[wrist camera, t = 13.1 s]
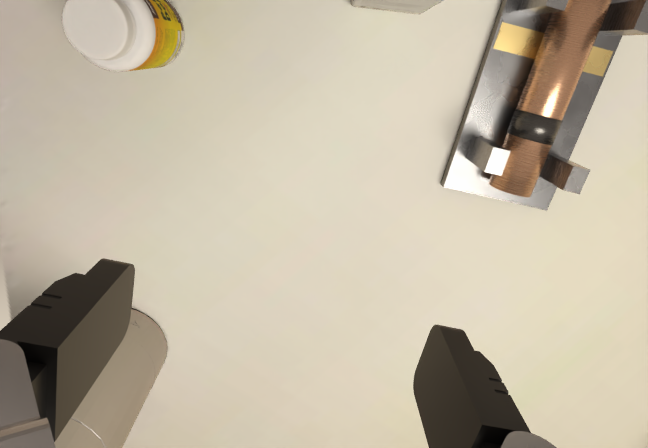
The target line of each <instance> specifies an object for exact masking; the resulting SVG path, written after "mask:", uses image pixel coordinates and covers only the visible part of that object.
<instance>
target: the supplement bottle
mask: <svg viewBox="0 0 648 448" xmlns="http://www.w3.org/2000/svg"><path fill="white" fill-rule="evenodd" d="M62 25H63V30H64V32H65V35H66V37H67V39H68V40H69V42H70V43H71V45H72V46H73V47H74V48H75V49H76V50H77V51H78V52H80V53H81V54H82V55H83V56H84V57H85V58H86V59H87V60H89V61H90V62H91V63H93V64H94V65H96V66H98V67H100V68H103V69H105V70H109V71H115V72H123V71H132V70H141V69H149V68H158V67H163V66H166V65H168V64H170V63H171V62H172V61H174V60H175V59H176V58H177V56H178V55H179V53H180V52H181V50H182V47H183V43H184V27H183V23H182V20H181V18H180V16H179V14H178V13H177V11H176V10H175V8H174V7H173V6H172V5H171V4H170V3H169V2H167V1H166V0H67V1H66V3H65V5H64V8H63V12H62Z"/></svg>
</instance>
